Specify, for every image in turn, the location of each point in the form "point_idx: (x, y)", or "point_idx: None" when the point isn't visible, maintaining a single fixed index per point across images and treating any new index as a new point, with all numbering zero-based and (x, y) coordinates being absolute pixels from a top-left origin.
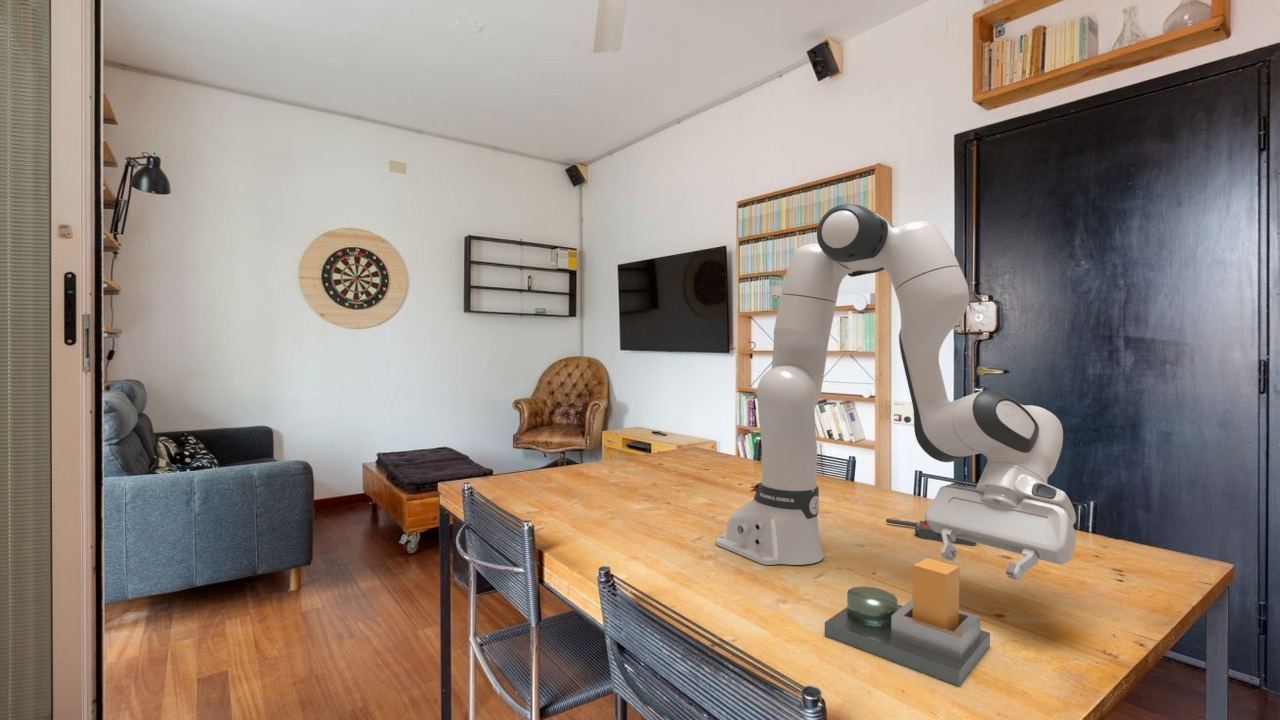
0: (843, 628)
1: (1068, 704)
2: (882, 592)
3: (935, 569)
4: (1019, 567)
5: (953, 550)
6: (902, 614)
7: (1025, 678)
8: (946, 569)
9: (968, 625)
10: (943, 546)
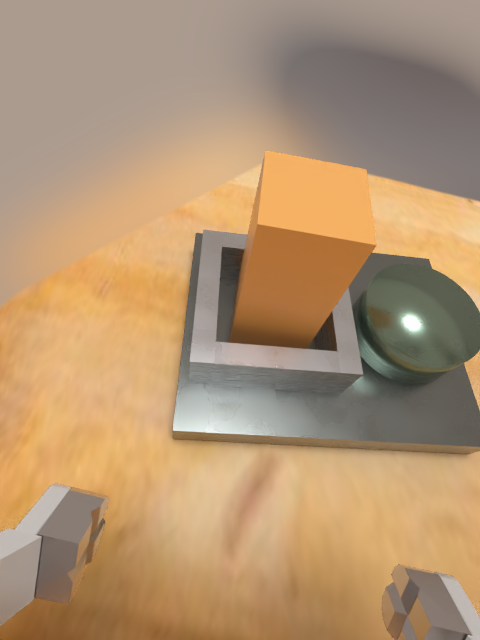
0: (394, 256)
1: (31, 298)
2: (428, 348)
3: (304, 167)
4: (26, 516)
5: (415, 620)
6: None
7: (98, 341)
8: (281, 183)
9: (203, 291)
10: (478, 615)
